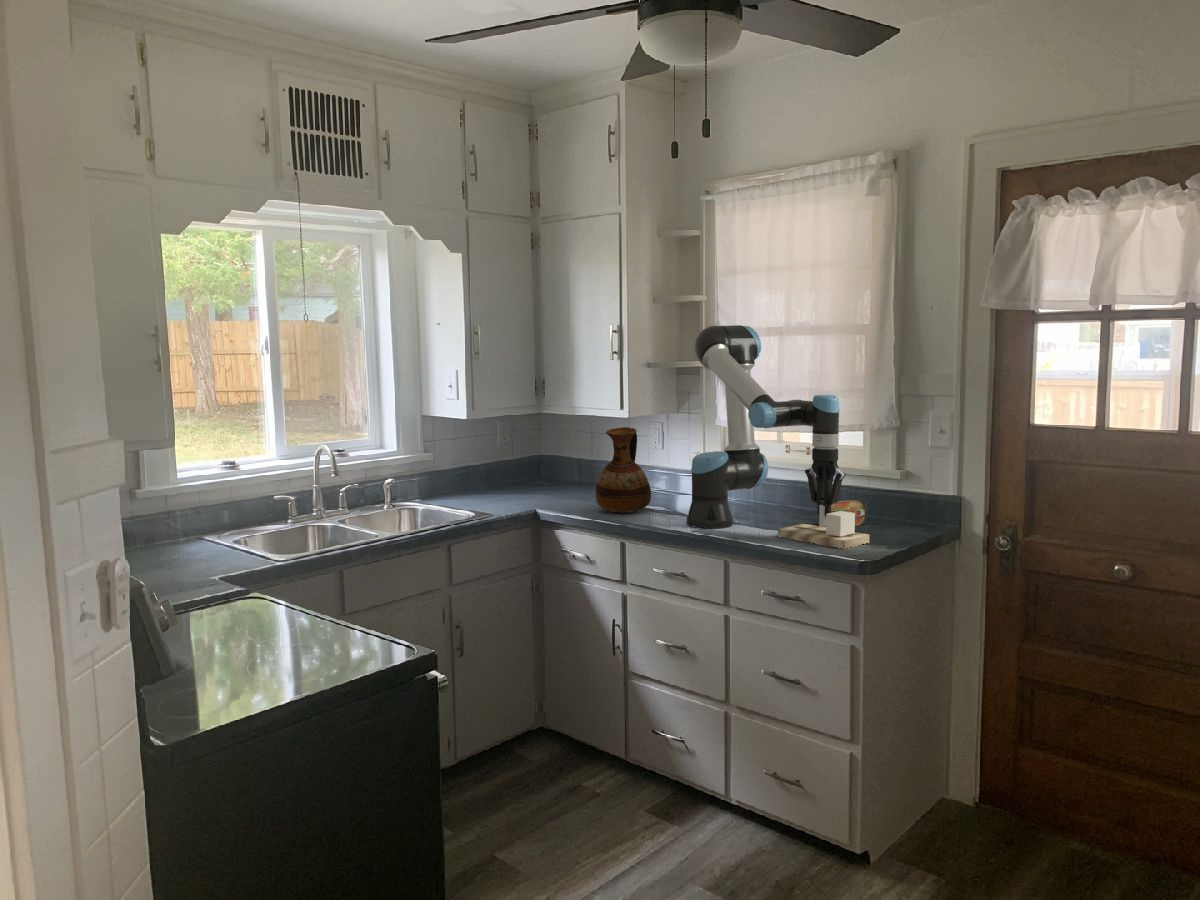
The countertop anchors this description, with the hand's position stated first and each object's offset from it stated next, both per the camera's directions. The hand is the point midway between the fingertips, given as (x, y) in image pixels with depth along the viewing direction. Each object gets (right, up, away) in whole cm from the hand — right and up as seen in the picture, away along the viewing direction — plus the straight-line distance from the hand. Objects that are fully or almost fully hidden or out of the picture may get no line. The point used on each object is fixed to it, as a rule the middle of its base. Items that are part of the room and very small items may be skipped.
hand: (823, 526), depth 275 cm
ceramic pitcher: (-58, +1, +55) cm, 80 cm away
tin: (+11, -2, +21) cm, 24 cm away
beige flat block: (0, -4, +1) cm, 4 cm away
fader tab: (+4, -2, -4) cm, 6 cm away
